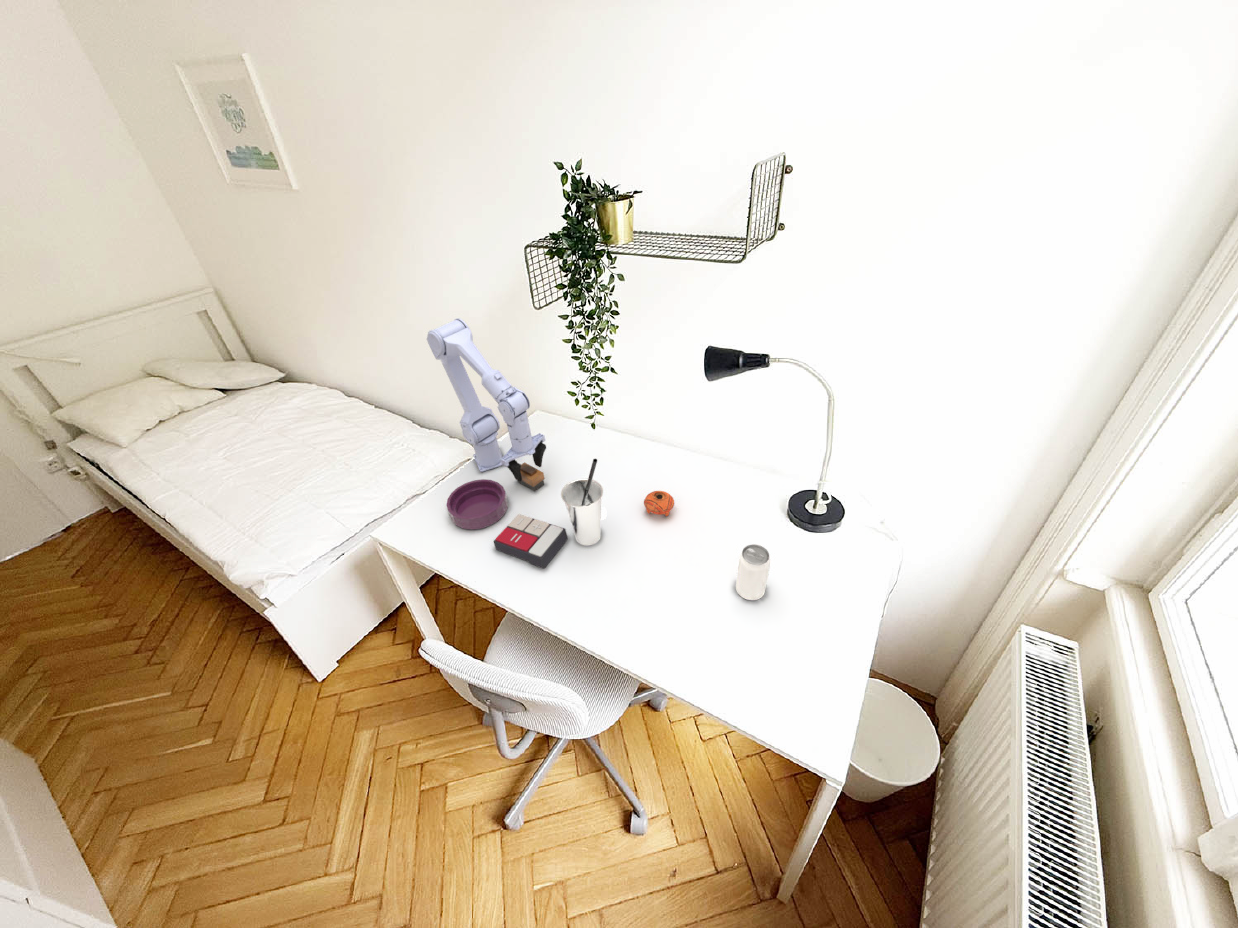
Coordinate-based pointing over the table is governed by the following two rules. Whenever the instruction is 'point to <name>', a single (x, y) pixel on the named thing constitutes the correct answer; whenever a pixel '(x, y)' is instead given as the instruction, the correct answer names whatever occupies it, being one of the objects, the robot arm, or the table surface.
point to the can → (752, 572)
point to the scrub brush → (531, 477)
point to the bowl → (477, 504)
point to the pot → (659, 503)
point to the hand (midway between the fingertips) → (528, 472)
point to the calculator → (531, 540)
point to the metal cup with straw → (584, 507)
